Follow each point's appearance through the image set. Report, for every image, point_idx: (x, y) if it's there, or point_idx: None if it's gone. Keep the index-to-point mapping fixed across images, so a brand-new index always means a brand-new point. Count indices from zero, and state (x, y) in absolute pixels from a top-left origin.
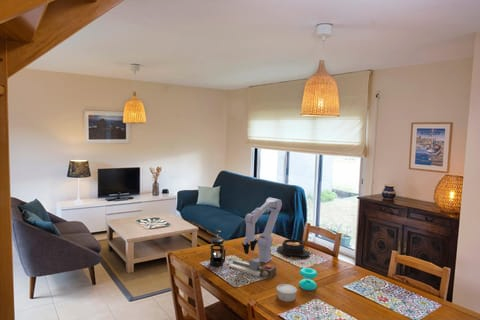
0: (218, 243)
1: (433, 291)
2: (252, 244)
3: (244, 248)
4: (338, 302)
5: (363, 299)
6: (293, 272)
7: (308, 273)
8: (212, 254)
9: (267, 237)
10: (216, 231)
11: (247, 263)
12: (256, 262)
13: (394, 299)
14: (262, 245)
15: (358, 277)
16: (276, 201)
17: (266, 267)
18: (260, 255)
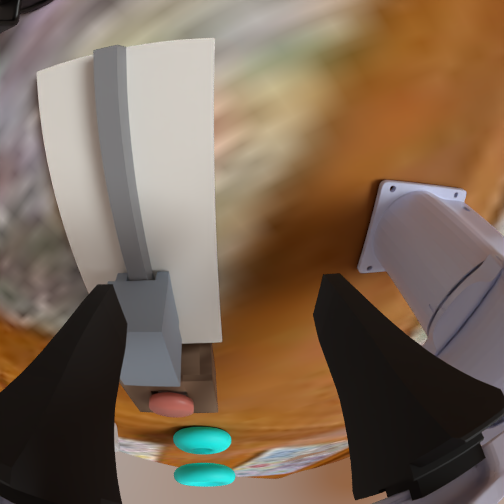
0: None
1: (329, 463)
2: (364, 396)
3: (49, 367)
4: (182, 456)
5: (233, 463)
6: (294, 392)
7: (183, 484)
8: None
9: (498, 430)
10: None
11: (209, 184)
12: (120, 376)
13: (268, 467)
14: (462, 343)
15: (342, 439)
16: None
17: (149, 402)
18: (402, 253)
